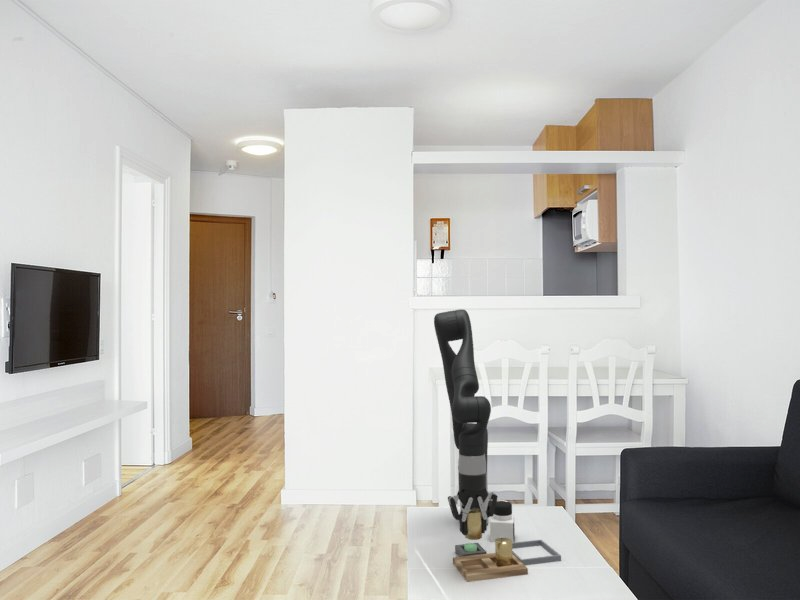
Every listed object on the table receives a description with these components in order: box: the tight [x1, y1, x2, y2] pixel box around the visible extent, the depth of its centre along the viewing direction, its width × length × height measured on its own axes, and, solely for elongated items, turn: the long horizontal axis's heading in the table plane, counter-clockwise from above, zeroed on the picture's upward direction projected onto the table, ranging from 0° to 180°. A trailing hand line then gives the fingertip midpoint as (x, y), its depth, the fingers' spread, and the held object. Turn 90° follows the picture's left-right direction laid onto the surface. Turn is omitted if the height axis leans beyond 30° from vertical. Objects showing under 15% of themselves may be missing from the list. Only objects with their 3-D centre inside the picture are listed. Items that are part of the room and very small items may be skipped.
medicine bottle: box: [489, 499, 516, 543], centre depth 188 cm, size 7×7×12 cm
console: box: [454, 542, 488, 557], centre depth 175 cm, size 7×7×3 cm
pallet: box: [452, 552, 529, 583], centre depth 166 cm, size 12×17×2 cm
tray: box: [512, 539, 562, 566], centre depth 175 cm, size 12×12×2 cm
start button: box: [464, 542, 477, 552], centre depth 175 cm, size 4×4×3 cm
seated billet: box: [494, 538, 513, 567], centre depth 167 cm, size 5×5×7 cm
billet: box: [464, 508, 483, 541], centre depth 165 cm, size 5×5×7 cm
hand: (473, 533), depth 165 cm, fingers closed on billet, 4 cm apart
